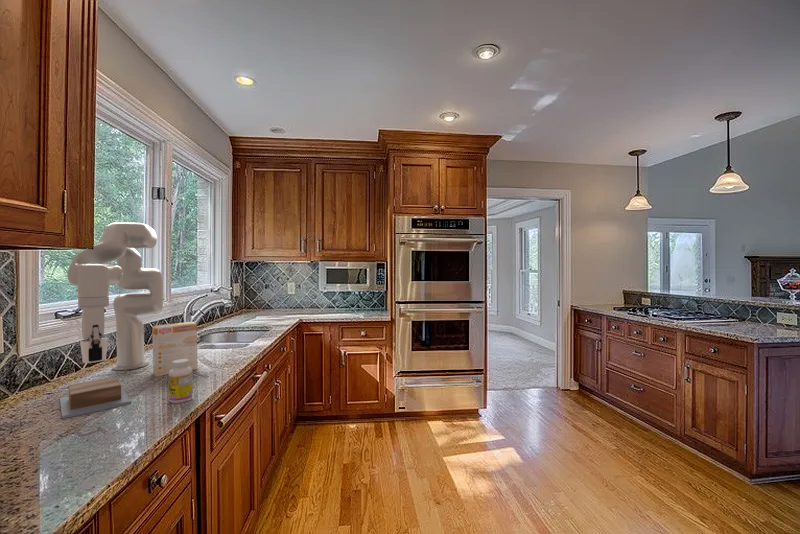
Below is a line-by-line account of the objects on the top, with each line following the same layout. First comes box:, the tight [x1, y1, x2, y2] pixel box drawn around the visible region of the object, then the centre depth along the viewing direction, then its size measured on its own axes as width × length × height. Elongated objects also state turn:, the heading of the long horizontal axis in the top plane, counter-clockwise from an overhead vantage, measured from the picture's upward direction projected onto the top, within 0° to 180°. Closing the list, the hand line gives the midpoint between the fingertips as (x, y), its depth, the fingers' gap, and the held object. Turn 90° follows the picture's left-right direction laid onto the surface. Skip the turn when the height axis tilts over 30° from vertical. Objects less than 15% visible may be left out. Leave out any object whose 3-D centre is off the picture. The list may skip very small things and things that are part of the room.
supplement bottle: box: [168, 359, 194, 404], centre depth 117 cm, size 7×7×13 cm
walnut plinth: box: [68, 376, 122, 410], centre depth 116 cm, size 12×12×5 cm
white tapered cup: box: [79, 336, 109, 364], centre depth 115 cm, size 7×7×7 cm
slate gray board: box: [59, 385, 132, 420], centre depth 116 cm, size 20×16×1 cm
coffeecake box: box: [151, 321, 199, 377], centre depth 149 cm, size 15×7×20 cm, turn 133°
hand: (94, 358), depth 115 cm, fingers closed on white tapered cup, 5 cm apart
